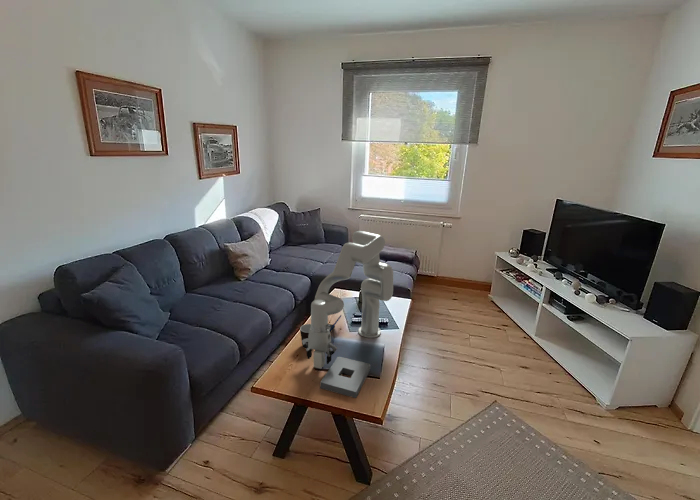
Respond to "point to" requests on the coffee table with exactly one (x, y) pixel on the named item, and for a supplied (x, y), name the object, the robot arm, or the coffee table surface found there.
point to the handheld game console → (333, 324)
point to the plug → (319, 359)
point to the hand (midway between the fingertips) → (319, 359)
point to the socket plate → (345, 384)
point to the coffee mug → (305, 332)
